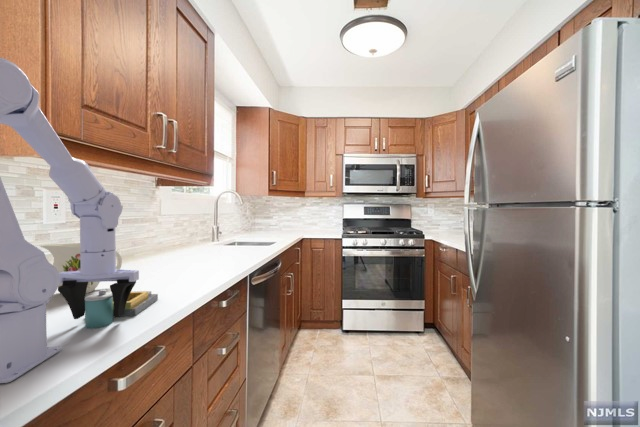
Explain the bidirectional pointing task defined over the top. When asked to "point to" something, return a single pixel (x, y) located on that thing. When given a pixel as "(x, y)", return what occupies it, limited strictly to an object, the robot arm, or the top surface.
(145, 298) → the gray yellow rectangular tray
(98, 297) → the spout can
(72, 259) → the pitcher
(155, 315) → the top surface
